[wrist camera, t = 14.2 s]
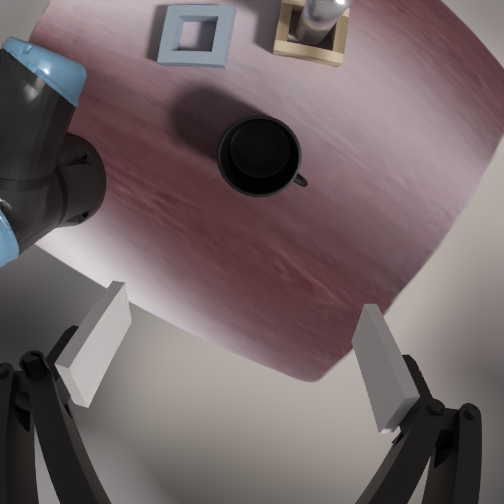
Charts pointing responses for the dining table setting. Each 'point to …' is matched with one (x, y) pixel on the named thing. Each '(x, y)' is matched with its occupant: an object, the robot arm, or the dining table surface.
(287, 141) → the mug
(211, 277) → the dining table surface
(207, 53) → the socket block
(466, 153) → the dining table surface
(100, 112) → the dining table surface
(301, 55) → the block
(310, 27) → the pin
